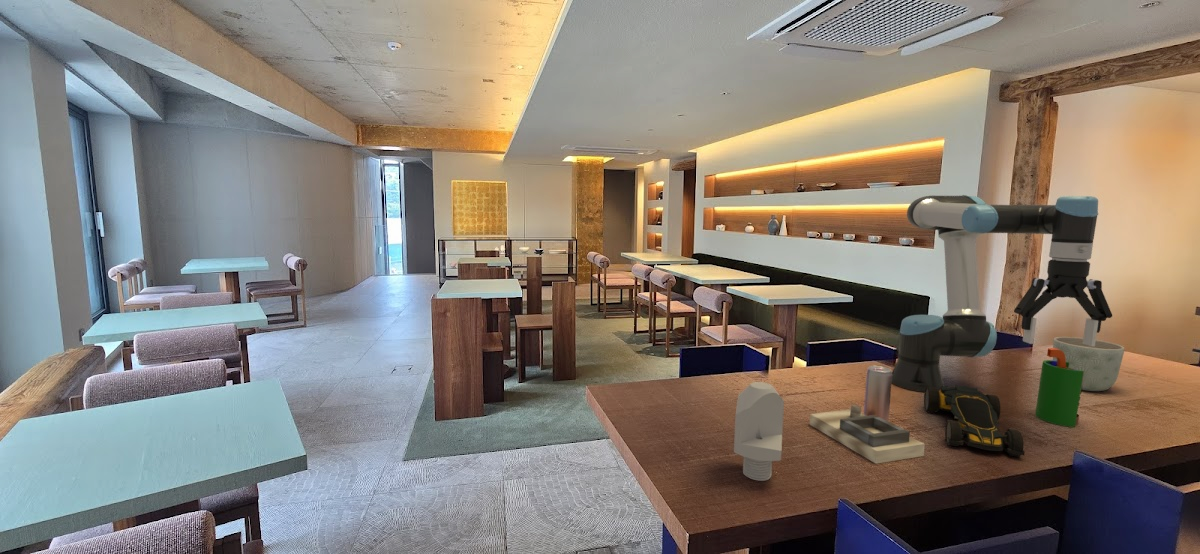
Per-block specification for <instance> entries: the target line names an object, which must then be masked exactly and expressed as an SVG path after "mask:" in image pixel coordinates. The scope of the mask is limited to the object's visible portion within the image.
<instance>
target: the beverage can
mask: <svg viewBox="0 0 1200 554" xmlns="http://www.w3.org/2000/svg"><path fill="white" fill-rule="evenodd" d="M892 372H893V369H890V368H889V367H886V366H882V365H881V366H880V365H869V366H868V367H867V370H866V380H865V392H864V405H863V408H864V409H863V414H865V415H867V416H869V415H876V416H878V417H880V418H882V419H884V420H886V421H888V422H889V418H890V417H889V416H890V405H891V393H892V384H893V383H892Z"/></svg>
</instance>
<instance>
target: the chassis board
mask: <svg viewBox="0 0 1200 554" xmlns="http://www.w3.org/2000/svg"><path fill="white" fill-rule="evenodd" d="M809 416H810V417H809V418H810V419H809V426H811V427H813V428H815V429H816V430H818V431H820V432H821V433H823V434H825V435H827V436H828V437H830V438H831V439H833V440H835V441H837V442H838V443H840V444H842V445H844V446H845V447H847V448H848V449H851V450H852V451H853V452H855V453H857V454H858V455H860V456H862V457H863V458H865V459H867V460H869V461H871V462H872V463H873V464H876V465H877V464H882V463H889V462H894V461H900V460H902V461H903V460H908V459H912V458H913V459H914V458H920V457H924V456H925V446H926V445H925V443H924V442H922V441H920V440H918V439H916V438H913V437H911V436H910V434H911V431H908V430H907V429H904V428H903V427H901V426H898V425H896V424H894V423H892V422H890V421H889V420H888V421H886V420H884V419H882V418H880V417H878V416H876V415H869V416H867V415H865V414H864V413H862V407H861V406H860V405H857V404H851V405H850V409H841V410H833V411H826V412H825V411H824V412H817V413H810V415H809Z"/></svg>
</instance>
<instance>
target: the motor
mask: <svg viewBox="0 0 1200 554" xmlns="http://www.w3.org/2000/svg"><path fill="white" fill-rule="evenodd" d="M1046 355H1047V357H1049V358H1053V357H1057V361H1056V360H1053V359H1047V360H1042V364H1041V371H1040V372H1041V373H1040V379H1039V385H1038V393H1037V399H1036V407H1035V414H1034V415H1035V416H1036V417H1037V418H1038V419H1039V420H1042V421H1045V422H1047V423H1050V424H1053V425H1059V426H1061V427H1062V426H1064V427H1069V428H1075V427H1076V426H1078V425H1079V420H1080V415H1079V414H1078V411H1079V407H1080V401H1081V394H1082V390H1081V388H1082V382H1083V376H1084V371H1081V370H1076V369H1071V368H1069V362H1066V359H1065V354H1064V353H1063V351H1061V350H1059V349H1056V348H1053V347H1052V348H1048V349H1047V354H1046Z"/></svg>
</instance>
